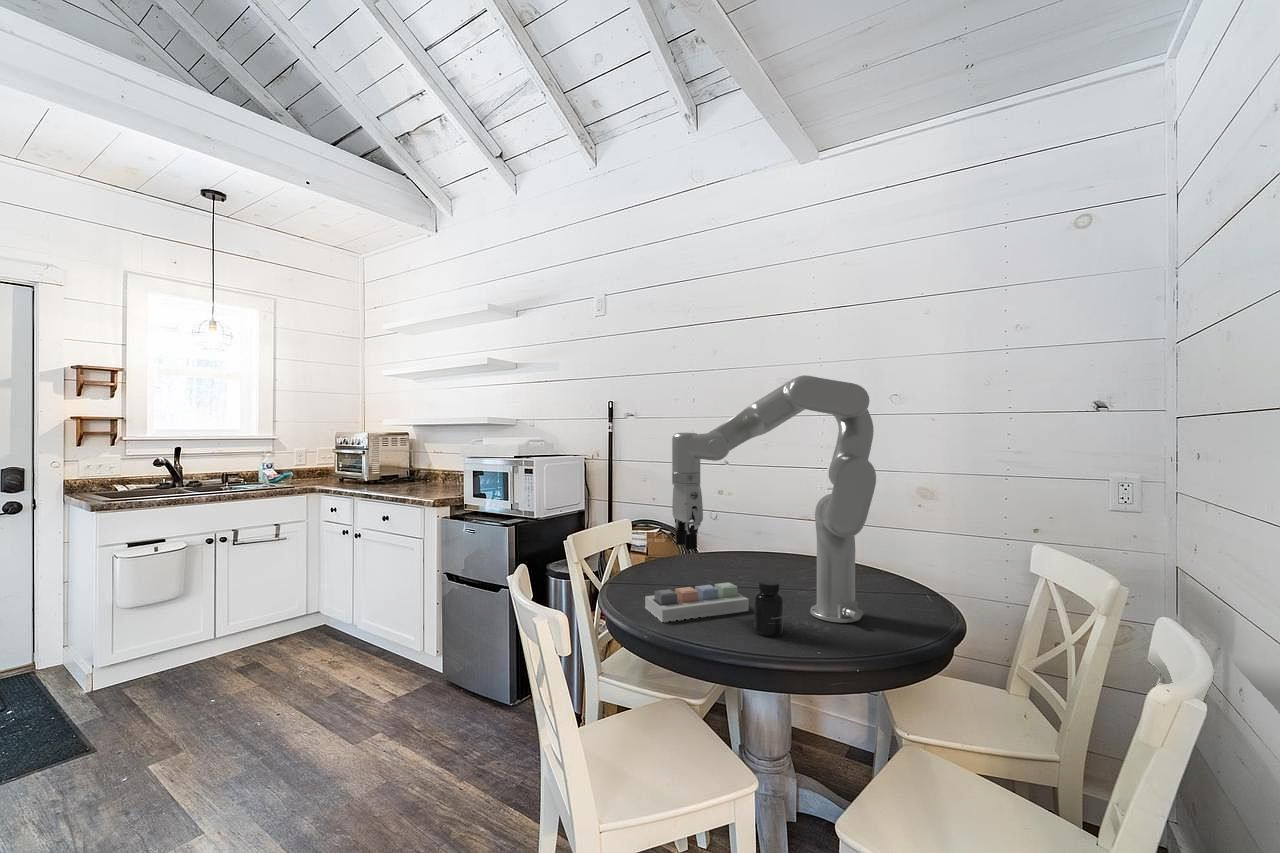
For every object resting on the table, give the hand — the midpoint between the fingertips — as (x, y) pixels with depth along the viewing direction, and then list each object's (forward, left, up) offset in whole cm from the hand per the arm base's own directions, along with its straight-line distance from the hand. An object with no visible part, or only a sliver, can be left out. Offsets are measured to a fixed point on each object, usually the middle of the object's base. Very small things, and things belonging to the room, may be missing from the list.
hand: (686, 545), depth 154 cm
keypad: (0, -3, -17) cm, 18 cm away
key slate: (0, -6, -15) cm, 16 cm away
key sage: (0, -12, -15) cm, 19 cm away
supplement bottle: (-21, -12, -18) cm, 30 cm away
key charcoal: (0, +6, -15) cm, 16 cm away
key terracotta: (0, 0, -15) cm, 15 cm away
